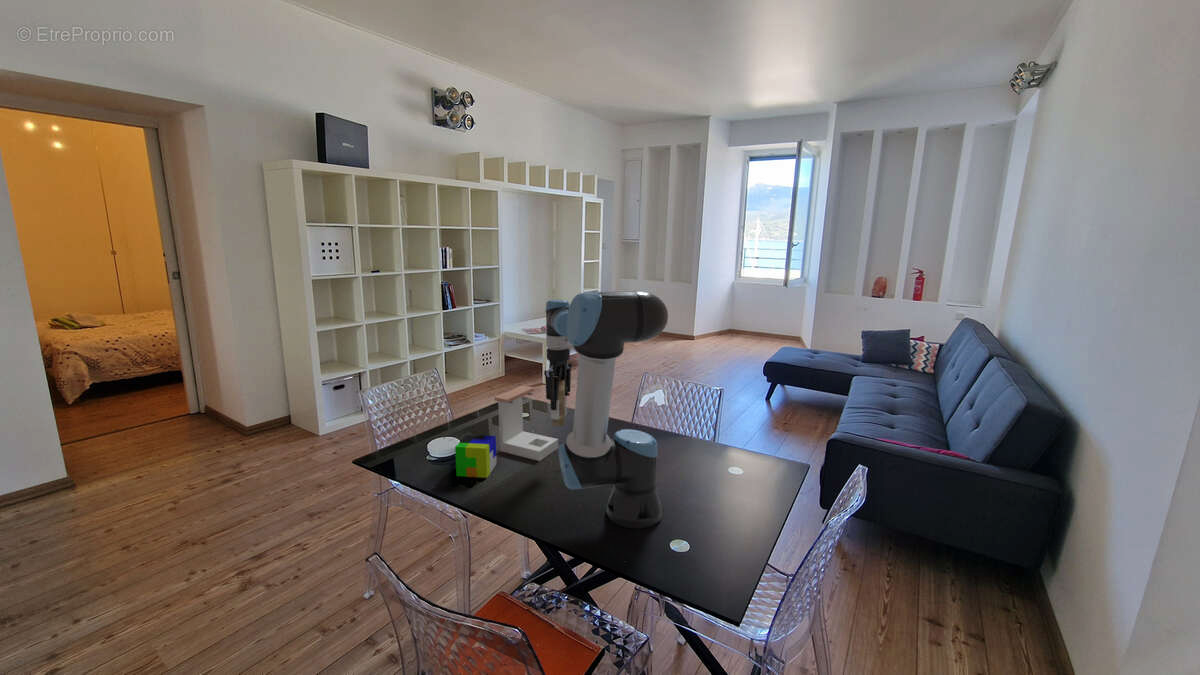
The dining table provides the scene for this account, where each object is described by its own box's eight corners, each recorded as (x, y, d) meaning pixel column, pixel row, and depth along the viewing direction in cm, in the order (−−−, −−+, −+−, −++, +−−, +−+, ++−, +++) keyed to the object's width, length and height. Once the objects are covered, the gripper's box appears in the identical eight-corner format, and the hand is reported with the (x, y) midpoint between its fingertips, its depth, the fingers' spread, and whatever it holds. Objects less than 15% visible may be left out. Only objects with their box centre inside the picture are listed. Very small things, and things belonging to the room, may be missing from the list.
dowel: (560, 426, 161) (560, 382, 158) (550, 424, 162) (550, 381, 160) (567, 423, 164) (566, 379, 161) (557, 421, 166) (556, 378, 163)
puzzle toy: (496, 463, 165) (495, 436, 163) (487, 478, 156) (485, 448, 154) (467, 462, 166) (466, 434, 164) (456, 476, 156) (455, 446, 154)
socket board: (539, 461, 167) (539, 451, 167) (500, 451, 175) (499, 441, 174) (558, 448, 178) (558, 439, 177) (520, 439, 186) (519, 430, 185)
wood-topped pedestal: (508, 446, 170) (507, 399, 167) (496, 443, 173) (494, 397, 169) (535, 431, 184) (534, 387, 181) (523, 428, 187) (522, 385, 183)
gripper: (553, 353, 149) (554, 426, 154) (581, 344, 164) (581, 410, 169) (533, 351, 153) (534, 422, 157) (562, 342, 168) (562, 407, 172)
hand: (558, 416), depth 163 cm, fingers closed on dowel, 4 cm apart
